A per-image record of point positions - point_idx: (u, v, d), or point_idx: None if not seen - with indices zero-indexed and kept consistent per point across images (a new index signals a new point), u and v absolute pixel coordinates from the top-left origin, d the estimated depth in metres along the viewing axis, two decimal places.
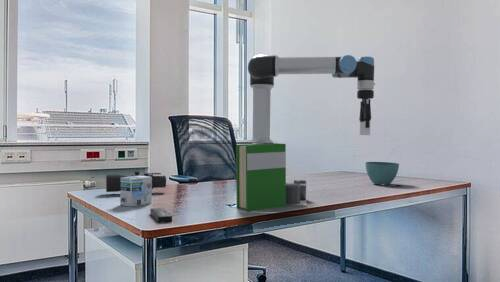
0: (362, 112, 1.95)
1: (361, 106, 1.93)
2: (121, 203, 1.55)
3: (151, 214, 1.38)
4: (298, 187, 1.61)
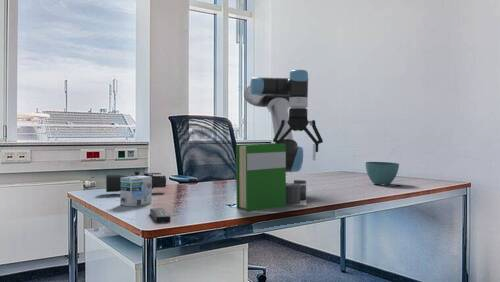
0: None
1: None
2: (121, 203, 1.55)
3: (150, 214, 1.38)
4: (298, 187, 1.61)
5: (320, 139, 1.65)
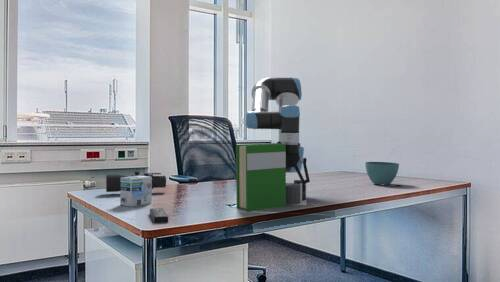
0: None
1: None
2: (121, 203, 1.55)
3: (150, 214, 1.38)
4: (298, 187, 1.61)
5: (307, 179, 1.62)
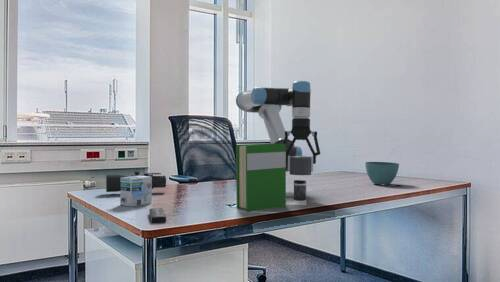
0: None
1: None
2: (121, 203, 1.55)
3: None
4: (309, 159, 1.69)
5: (318, 151, 1.69)
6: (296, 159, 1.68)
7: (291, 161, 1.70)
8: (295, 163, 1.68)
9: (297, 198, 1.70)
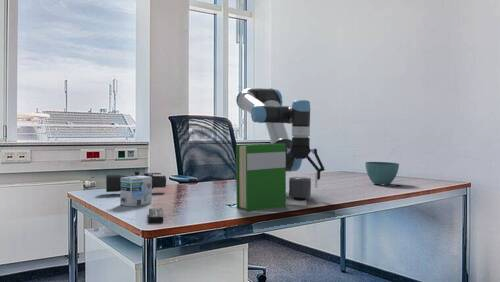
0: None
1: None
2: (121, 203, 1.55)
3: None
4: (309, 181, 1.69)
5: (322, 167, 1.69)
6: (296, 181, 1.68)
7: (290, 183, 1.70)
8: (295, 185, 1.68)
9: (297, 198, 1.70)
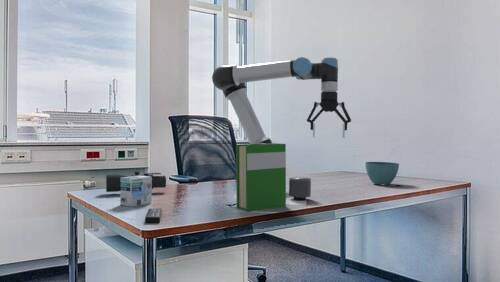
0: (337, 114, 1.89)
1: None
2: (121, 203, 1.55)
3: None
4: (309, 181, 1.69)
5: (349, 119, 1.86)
6: (296, 181, 1.68)
7: (290, 183, 1.70)
8: (295, 185, 1.68)
9: (297, 198, 1.70)
